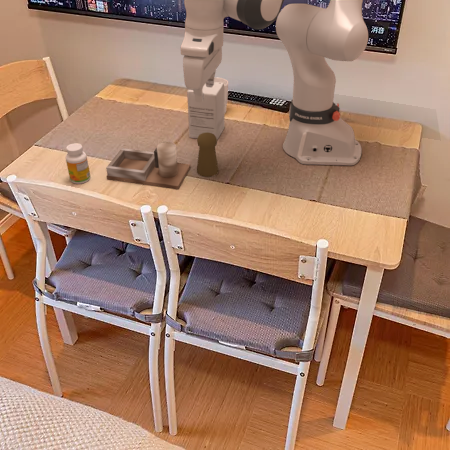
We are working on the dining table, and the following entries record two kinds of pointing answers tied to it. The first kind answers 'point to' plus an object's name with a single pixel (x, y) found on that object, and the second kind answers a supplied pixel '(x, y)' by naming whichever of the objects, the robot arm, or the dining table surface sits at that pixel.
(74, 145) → the supplement bottle
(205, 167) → the olive brown pawn
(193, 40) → the robot arm
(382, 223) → the dining table surface
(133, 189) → the dining table surface
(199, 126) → the supplement box
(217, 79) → the white cup
